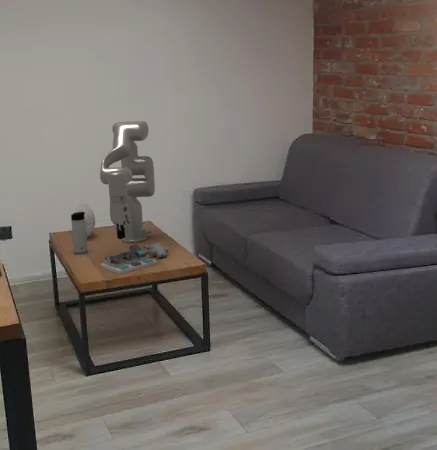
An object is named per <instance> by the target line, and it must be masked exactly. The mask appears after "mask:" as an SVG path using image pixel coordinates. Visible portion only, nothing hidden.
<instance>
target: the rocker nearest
mask: <svg viewBox="0 0 437 450" xmlns="http://www.w3.org/2000/svg"><path fill="white" fill-rule="evenodd" d="M128 248H129V249H128V250H129V251H132V250H134V251H135V255H136V256H138V257H139V258H140V257H144V256H148V255H147V252H146V251H145V249H144V248H142V247H140V245H139V244H132V245H129V247H128ZM143 249H144V250H143Z"/></svg>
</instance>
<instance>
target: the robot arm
mask: <svg viewBox="0 0 437 450" xmlns="http://www.w3.org/2000/svg"><path fill="white" fill-rule="evenodd" d="M111 128H112V133H113V139H112V149H111V150H110V151H108V153H107V154H105V155H104V156H103V158H102V160H101V163H100V171H99V178H100V182H101V183H102V184H103V185H108V193H109V218H110V221H111V222H112V225H114V226H115V230H116V238H117V239H118V240H122V242H124V243H140V242H144V241H146V240H147V239H148V237H147V234H151V233H152V229H146V228H145V229H144V220H143V206H142V203H141V202H140V200H139V199H138V198H151V197H153V196H154V194H155V192H156V191H155V190H156V186H155V167H154V161H153V157H151V156H148V155H140V156H139V153H138V152H139V151H138V145H137V143H136V142H142V141H145V140H146V139H147V138H148V136H149V124H147V122H146V121H145V120H144V121H141V120H140V121H139V120H137V121H118V122H116V123H113V125H112V127H111ZM117 162H120V167H110V166H111V165H113V164H115V163H117ZM133 176H143V177H133Z"/></svg>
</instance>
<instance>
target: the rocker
mask: <svg viewBox="0 0 437 450" xmlns="http://www.w3.org/2000/svg"><path fill="white" fill-rule="evenodd" d="M107 257H109V258H111V260H114V259H119V258H122V254H121V253H117V254H110V255H108V256H105V257H104V260H105V261H106V260H107Z"/></svg>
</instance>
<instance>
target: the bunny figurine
mask: <svg viewBox="0 0 437 450" xmlns="http://www.w3.org/2000/svg"><path fill="white" fill-rule="evenodd" d="M143 249H147V250H149V252H148V255H149V257H155V258H156V259H162V258H166V257H167V254H168V253H169V248H168V247H165V246H162V243H159V242H155V243H153V244H150V245H149V244H144V245H143Z"/></svg>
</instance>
